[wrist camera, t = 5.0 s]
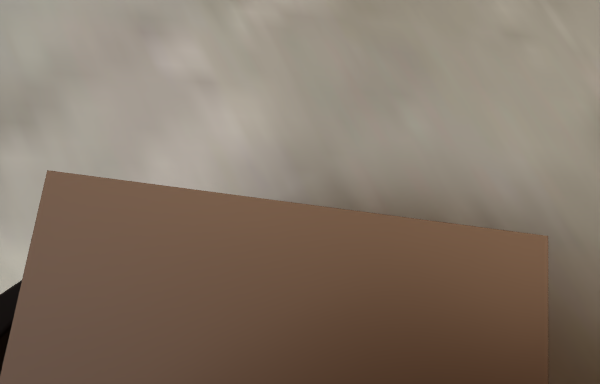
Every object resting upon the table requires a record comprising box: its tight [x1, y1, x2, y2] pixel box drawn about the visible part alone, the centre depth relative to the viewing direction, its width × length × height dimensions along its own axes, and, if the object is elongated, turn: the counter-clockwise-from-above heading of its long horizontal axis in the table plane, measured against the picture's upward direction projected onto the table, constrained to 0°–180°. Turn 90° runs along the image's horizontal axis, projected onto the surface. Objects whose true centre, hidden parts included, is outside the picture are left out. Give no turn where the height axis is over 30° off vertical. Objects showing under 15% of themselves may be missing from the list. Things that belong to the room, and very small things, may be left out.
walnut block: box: [0, 170, 548, 384], centre depth 10 cm, size 5×5×13 cm
